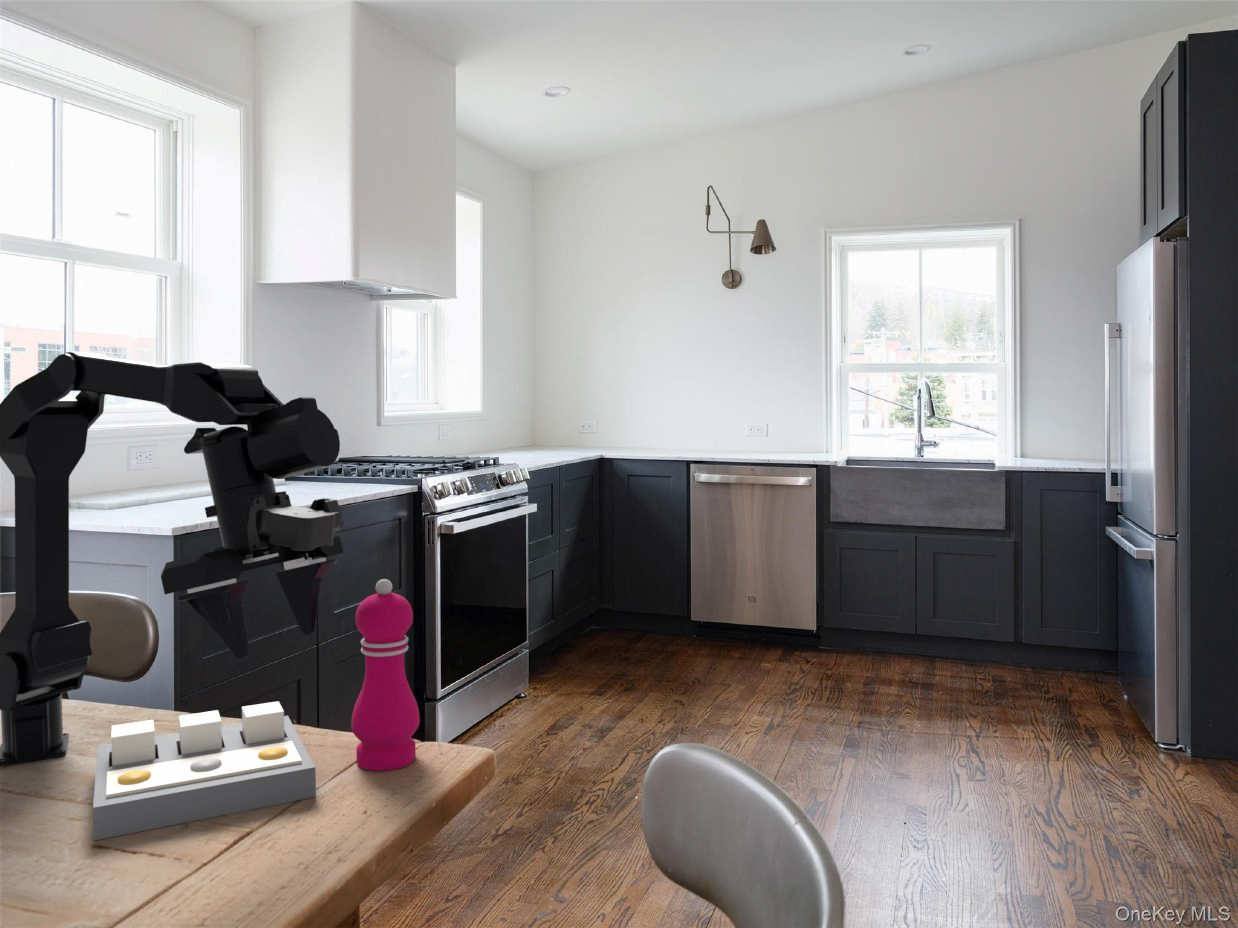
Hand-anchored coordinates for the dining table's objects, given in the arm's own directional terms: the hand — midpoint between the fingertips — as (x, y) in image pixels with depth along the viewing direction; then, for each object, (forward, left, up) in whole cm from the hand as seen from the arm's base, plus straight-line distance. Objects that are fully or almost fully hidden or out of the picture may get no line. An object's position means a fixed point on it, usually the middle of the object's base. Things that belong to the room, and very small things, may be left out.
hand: (277, 645), depth 87 cm
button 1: (-11, -13, -13) cm, 21 cm away
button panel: (-8, -6, -15) cm, 18 cm away
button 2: (-11, 0, -13) cm, 17 cm away
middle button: (-11, -6, -13) cm, 18 cm away
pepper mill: (-5, +12, -16) cm, 20 cm away
